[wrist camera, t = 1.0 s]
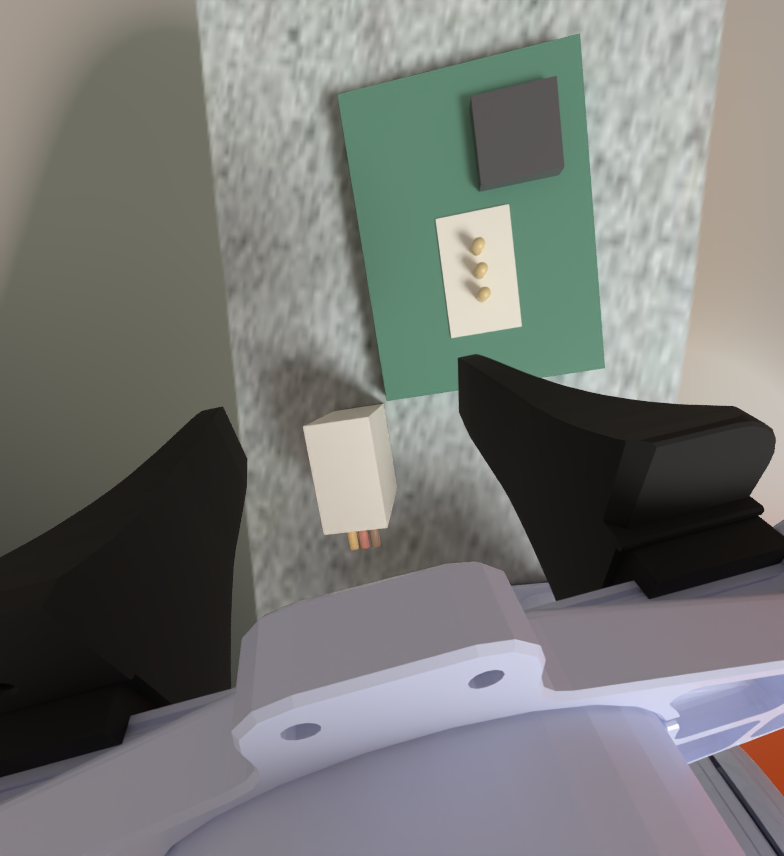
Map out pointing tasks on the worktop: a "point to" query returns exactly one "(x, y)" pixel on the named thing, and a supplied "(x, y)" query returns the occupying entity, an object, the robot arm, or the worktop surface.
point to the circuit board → (477, 217)
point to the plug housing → (353, 472)
